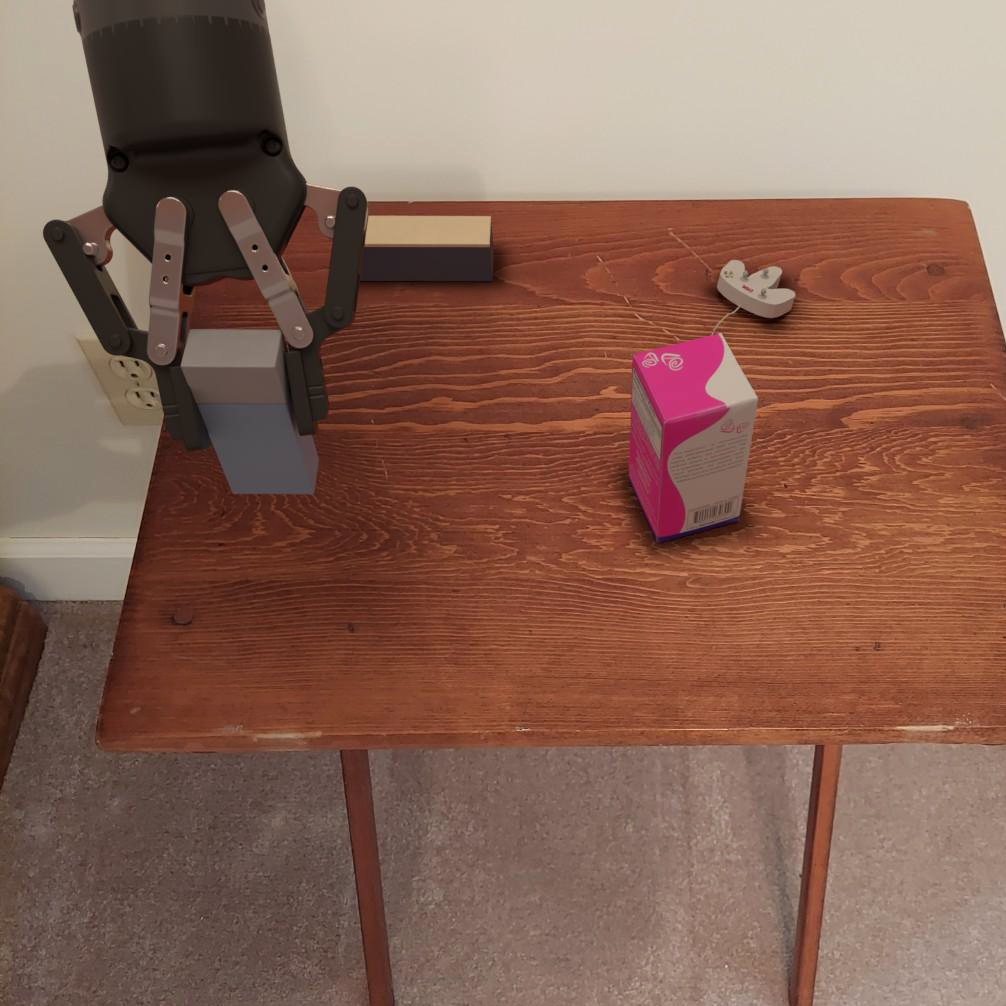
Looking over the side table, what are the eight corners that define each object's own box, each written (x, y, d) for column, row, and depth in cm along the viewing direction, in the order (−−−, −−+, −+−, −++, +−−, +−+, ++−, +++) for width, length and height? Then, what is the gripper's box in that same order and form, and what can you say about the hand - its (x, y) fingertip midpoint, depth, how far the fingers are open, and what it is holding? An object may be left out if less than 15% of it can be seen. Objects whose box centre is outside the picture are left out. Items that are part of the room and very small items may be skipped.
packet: (231, 494, 58) (179, 366, 50) (238, 459, 59) (189, 328, 51) (314, 495, 58) (275, 366, 50) (320, 459, 59) (282, 328, 51)
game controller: (802, 286, 87) (808, 259, 85) (755, 395, 81) (759, 369, 79) (729, 265, 88) (733, 238, 86) (677, 372, 82) (680, 345, 80)
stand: (356, 281, 87) (348, 243, 84) (360, 253, 88) (352, 215, 85) (492, 281, 87) (489, 244, 84) (494, 253, 88) (491, 215, 85)
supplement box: (707, 454, 78) (724, 328, 69) (740, 522, 75) (764, 401, 66) (624, 475, 77) (630, 350, 68) (655, 545, 74) (666, 425, 65)
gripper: (354, 39, 53) (413, 416, 57) (29, 70, 52) (112, 455, 56) (342, -9, 46) (411, 426, 50) (-36, 25, 45) (65, 472, 49)
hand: (253, 439), depth 53 cm, fingers closed on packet, 4 cm apart
